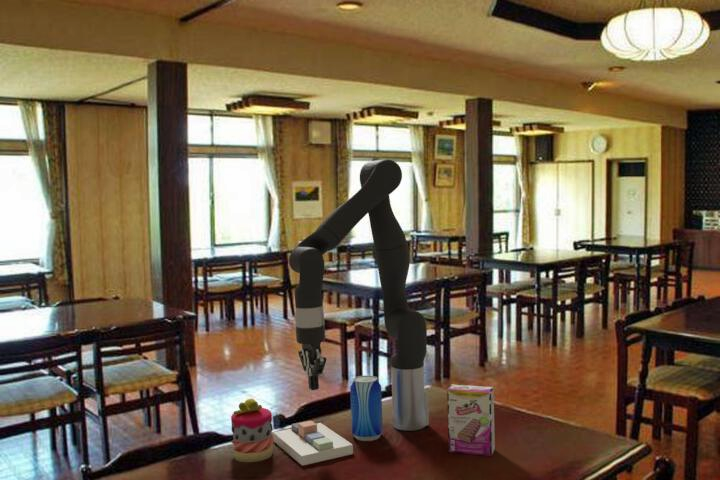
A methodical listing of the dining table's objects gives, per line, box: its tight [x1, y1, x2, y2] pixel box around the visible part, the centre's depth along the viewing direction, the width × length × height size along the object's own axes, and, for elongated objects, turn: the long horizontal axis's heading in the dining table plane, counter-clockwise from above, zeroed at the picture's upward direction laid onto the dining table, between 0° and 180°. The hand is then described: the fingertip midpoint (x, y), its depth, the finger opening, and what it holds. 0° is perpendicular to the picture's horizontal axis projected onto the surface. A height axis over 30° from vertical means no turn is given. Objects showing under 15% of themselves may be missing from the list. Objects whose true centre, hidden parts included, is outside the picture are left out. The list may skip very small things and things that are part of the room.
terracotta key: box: [297, 420, 317, 440], centre depth 180 cm, size 4×4×4 cm
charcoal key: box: [291, 421, 301, 434], centre depth 184 cm, size 4×4×4 cm
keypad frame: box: [272, 422, 354, 466], centre depth 178 cm, size 14×20×2 cm
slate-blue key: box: [305, 432, 325, 445], centre depth 176 cm, size 4×4×4 cm
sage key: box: [313, 437, 333, 451], centre depth 171 cm, size 4×4×4 cm
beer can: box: [349, 375, 384, 442], centre depth 184 cm, size 8×8×16 cm
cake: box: [230, 398, 275, 463], centre depth 174 cm, size 10×11×15 cm
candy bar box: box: [446, 384, 496, 457], centre depth 170 cm, size 11×5×16 cm, turn 71°
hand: (313, 389), depth 177 cm, fingers closed
